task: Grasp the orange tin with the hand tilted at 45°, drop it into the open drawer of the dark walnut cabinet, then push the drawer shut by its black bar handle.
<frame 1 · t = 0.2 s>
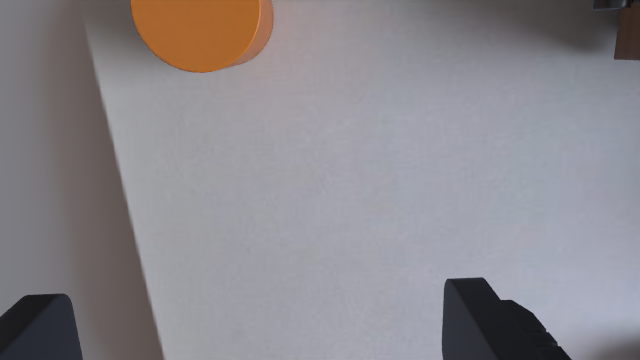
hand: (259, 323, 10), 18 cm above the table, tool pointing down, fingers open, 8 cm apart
orange tin: (225, 16, 26), on the table
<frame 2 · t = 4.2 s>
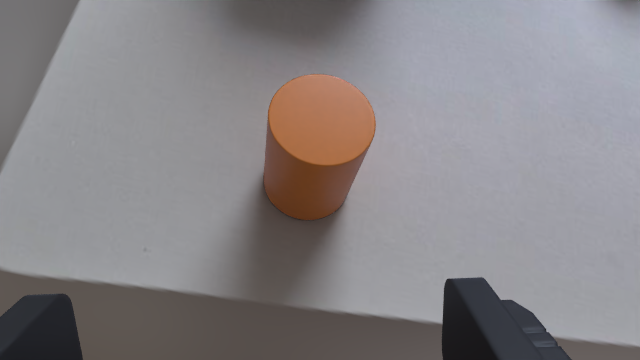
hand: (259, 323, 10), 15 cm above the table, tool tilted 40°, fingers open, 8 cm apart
orange tin: (306, 180, 29), on the table
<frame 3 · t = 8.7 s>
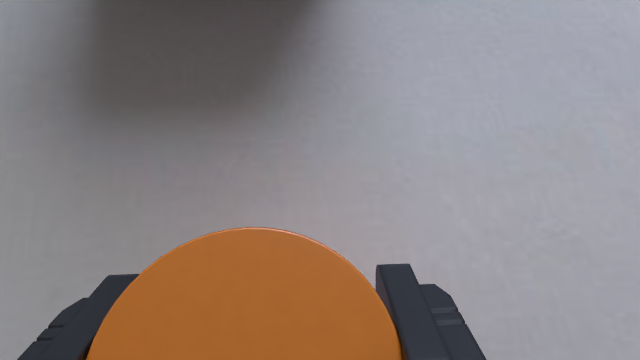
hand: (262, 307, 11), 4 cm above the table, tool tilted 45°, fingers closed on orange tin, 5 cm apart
when the fingers open (10 cm above the table, at t = 18.2 s): orange tin drops 4 cm, resting on drawer.
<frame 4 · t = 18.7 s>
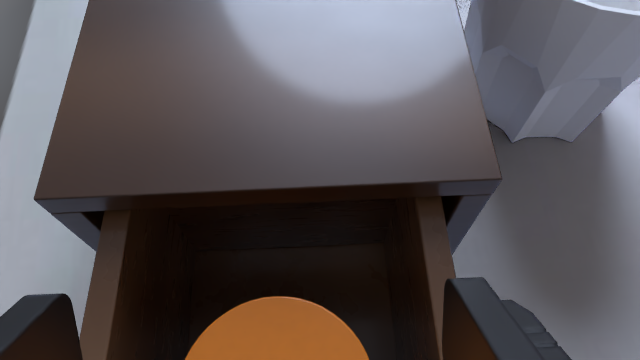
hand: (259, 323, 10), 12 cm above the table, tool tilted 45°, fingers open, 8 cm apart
cup: (525, 89, 28), on the table
cabinet: (291, 169, 26), on the table
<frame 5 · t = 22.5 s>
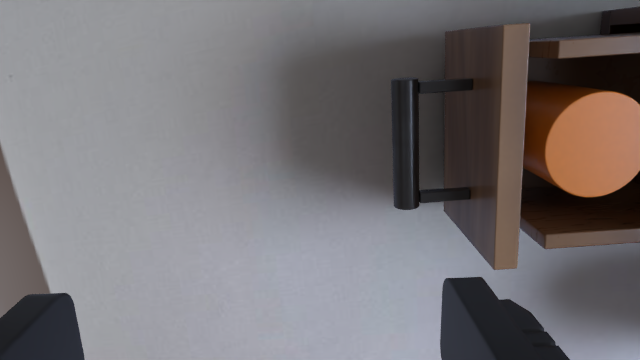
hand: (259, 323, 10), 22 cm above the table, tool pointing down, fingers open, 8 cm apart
drawer: (542, 133, 26), point 5 cm above the table, slide at 9.0 cm, touching orange tin
orange tin: (531, 123, 30), point 2 cm above the table, touching drawer
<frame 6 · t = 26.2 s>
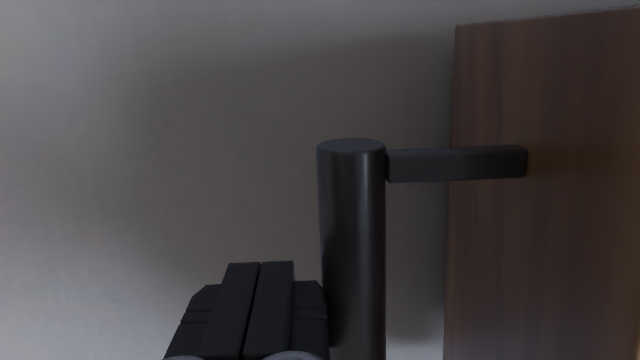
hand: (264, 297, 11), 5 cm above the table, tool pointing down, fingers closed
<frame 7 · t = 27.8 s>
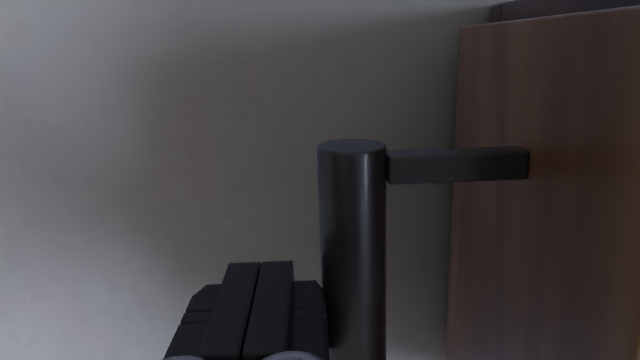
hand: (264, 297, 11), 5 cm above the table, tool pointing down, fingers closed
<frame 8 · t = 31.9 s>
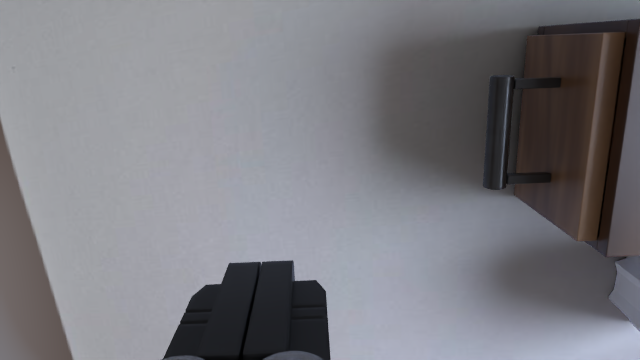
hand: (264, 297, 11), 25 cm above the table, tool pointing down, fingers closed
drawer: (615, 127, 30), point 5 cm above the table, slide at 0.0 cm, touching orange tin
cabinet: (622, 113, 36), on the table
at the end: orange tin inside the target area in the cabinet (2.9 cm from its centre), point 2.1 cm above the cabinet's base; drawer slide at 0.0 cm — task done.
